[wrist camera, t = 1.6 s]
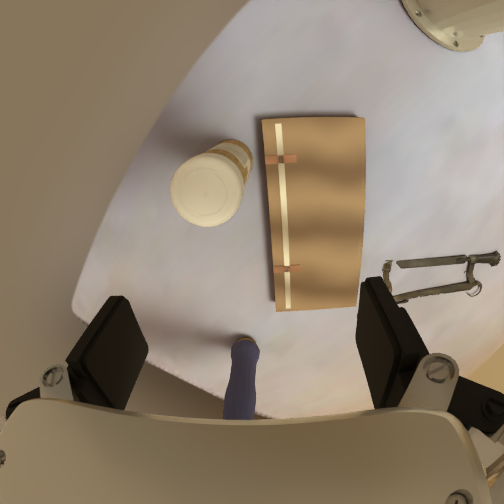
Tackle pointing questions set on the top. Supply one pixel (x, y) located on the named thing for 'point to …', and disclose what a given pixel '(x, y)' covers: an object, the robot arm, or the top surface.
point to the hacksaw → (487, 258)
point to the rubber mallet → (242, 381)
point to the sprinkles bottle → (212, 183)
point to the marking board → (316, 209)
